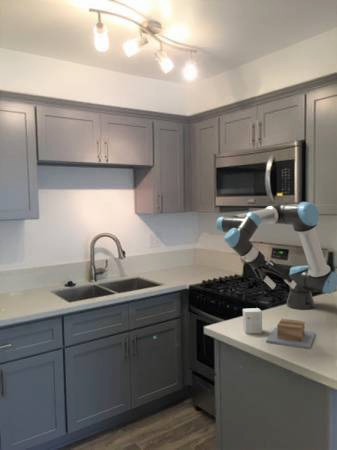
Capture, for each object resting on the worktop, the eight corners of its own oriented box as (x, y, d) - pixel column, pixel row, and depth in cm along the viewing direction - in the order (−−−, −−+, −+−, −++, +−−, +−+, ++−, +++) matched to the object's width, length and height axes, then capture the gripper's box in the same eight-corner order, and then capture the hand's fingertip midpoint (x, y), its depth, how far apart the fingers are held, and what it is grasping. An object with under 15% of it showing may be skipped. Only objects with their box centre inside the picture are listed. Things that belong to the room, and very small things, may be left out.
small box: (259, 329, 182) (259, 307, 181) (262, 333, 176) (262, 311, 176) (242, 330, 182) (242, 308, 181) (245, 334, 176) (245, 311, 175)
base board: (275, 329, 181) (275, 327, 181) (315, 334, 173) (315, 332, 172) (266, 342, 165) (266, 340, 165) (309, 348, 157) (309, 346, 157)
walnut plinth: (281, 331, 175) (281, 318, 175) (304, 334, 171) (304, 321, 170) (277, 338, 167) (277, 325, 166) (301, 341, 162) (301, 328, 162)
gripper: (232, 264, 178) (262, 293, 182) (266, 260, 155) (300, 293, 160) (240, 252, 180) (270, 281, 185) (275, 246, 158) (307, 279, 162)
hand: (284, 286), depth 172 cm, fingers open, 13 cm apart
